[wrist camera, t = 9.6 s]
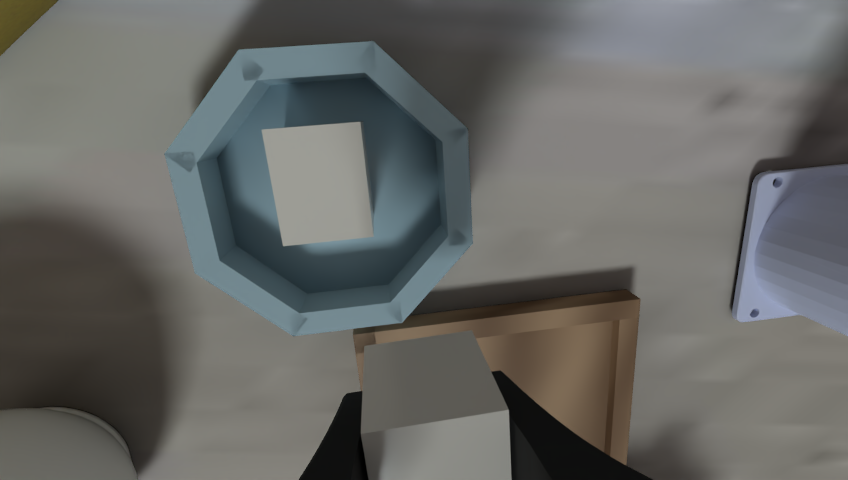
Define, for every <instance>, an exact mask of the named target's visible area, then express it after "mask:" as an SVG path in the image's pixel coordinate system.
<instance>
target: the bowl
mask: <svg viewBox="0 0 848 480" xmlns="http://www.w3.org/2000/svg"><path fill="white" fill-rule="evenodd" d="M360 121H363V123H364V132H365V141H366V150H367V158H368V167H369V176H370V185H371V194H372V202H373V211H374V237H368V238H358V239H349V240H339V241H329V242H320V243H310V244H300V245H291V246H283V243H282V238H281V232H280V227H279V222H278V216H277V211H276V205H275V200H274V195H273V189H272V184H271V178H270V173H269V168H268V162H267V157H266V151H265V146H264V141H263V135H262V129H273V128H284V127H297V126H310V125H322V124H335V123H348V122H360ZM164 155H165V158H166V162H167V165H168V169H169V173H170V177H171V181H172V185H173V189H174V193H175V197H176V201H177V204H178V208H179V212H180V216H181V220H182V224H183V228H184V232H185V236H186V239H187V243H188V247H189V251H190V255H191V259H192V263H193V267H194V271H195V274H197V275H199V276H200V277H202V278H203V279H205V280H206V281H208V282H210V283H211V284H213V285H214V286H216V287H217V288H219V289H220V290H222V291H224V292H225V293H227V294H228V295H230V296H231V297H233V298H235V299H236V300H238V301H239V302H241V303H242V304H244V305H245V306H247V307H249V308H250V309H252V310H253V311H255V312H256V313H258V314H260V315H261V316H263V317H264V318H266V319H267V320H269V321H270V322H272V323H274V324H275V325H277V326H278V327H280V328H281V329H283V330H285V331H286V332H288V333H289V334H291V335H292V336H299V335H307V334H315V333H323V332H331V331H339V330H347V329H355V328H364V327H372V326H380V325H388V324H396V323H403V321H404V320H405V319H406V318H407V317H408V316H409V315H410V313H411V312H412V311H413V310H414V309H415V308H416V307H417V306H418V304H419V303H420V302H421V301H422V300H423V299H424V298H425V297H426V295H427V294H428V293H429V292H430V291H431V290H432V289H433V288H434V286H435V285H436V284H437V283H438V282H439V281H440V280H441V278H442V277H443V276H444V275H445V274H446V273H447V272H448V271H449V269H450V268H451V267H452V266H453V265H454V264H455V263H456V262H457V260H458V259H459V258H460V257H461V256H462V255H463V254H464V253H465V251H466V250H467V249H468V248H469V247H470V246H471V245H472V244H473V238H472V215H471V192H470V169H469V146H468V128H467V127H466V126H464V125H463V124H462V123H461V122H460V121H459V120H458V119H457V118H456V117H455V116H454V115H453V114H452V113H450V112H449V111H448V110H447V109H446V108H445V107H444V106H443V105H442V104H441V103H440V102H439V101H437V100H436V99H435V98H434V97H433V96H432V95H431V94H430V93H429V92H428V91H427V90H426V89H425V88H423V87H422V86H421V85H420V84H419V83H418V82H417V81H416V80H415V79H414V78H413V77H412V76H410V75H409V74H408V73H407V72H406V71H405V70H404V69H403V68H402V67H401V66H400V65H399V64H398V63H396V62H395V61H394V60H393V59H392V58H391V57H390V56H389V55H388V54H387V53H386V52H385V51H383V50H382V49H381V48H380V47H379V46H378V45H377V44H376V43H375V42H374V41H367V42H351V43H336V44H320V45H304V46H288V47H273V48H257V49H241V50H240V49H239V50H238V51H237V53H236V54H235V55H234V57H233V58H232V60H231V61H230V63H229V64H228V65H227V67H226V68H225V70H224V71H223V72H222V74H221V75H220V77H219V78H218V79H217V81H216V82H215V84H214V85H213V86H212V88H211V89H210V91H209V92H208V93H207V95H206V96H205V98H204V99H203V100H202V102H201V103H200V105H199V106H198V107H197V109H196V110H195V112H194V113H193V115H192V116H191V117H190V119H189V120H188V122H187V123H186V124H185V126H184V127H183V129H182V130H181V131H180V133H179V134H178V136H177V137H176V138H175V140H174V141H173V143H172V144H171V145H170V147H169V148H168V150H167V151H166V152H165V153H164Z"/></svg>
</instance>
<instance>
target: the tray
mask: <svg viewBox="0 0 848 480" xmlns="http://www.w3.org/2000/svg"><path fill="white" fill-rule="evenodd" d="M639 311H640V298H638V297H637V296H635V295H634V294H632V293H631V292H629V291H628V290H626V289H625V290H617V291H609V292H600V293H592V294H584V295H576V296H568V297H559V298H551V299H543V300H535V301H527V302H518V303H510V304H502V305H494V306H486V307H477V308H469V309H461V310H453V311H445V312H436V313H428V314H420V315H412V316H408V317H407V318H406V319H405V320H404V321H403V323H396V324H388V325H380V326H372V327H364V328H355V329H354V331H353V338H354V345H355V352H356V359H357V366H358V373H359V380H360V387H361V391H363V368H364V346H367V345H374V344H381V343H388V342H395V341H402V340H409V339H415V338H422V337H429V336H436V335H443V334H450V333H457V332H464V331H471V330H472V332H473V334H474V336H475V338H476V340H477V342H478V345H479V347H480V349H481V351H482V353H483V355H484V357H485V360H486V362H487V364H488V366H489V368H490V370H491V372H492V371H499V370H501V371H502V372H503V373H504V374H505V375H506V376H508V377H509V378H510V379H511V380H512V381H513V382H514V383H515V384H516V385H517V386H518V387H519V388H520V389H522V390H523V391H524V392H525V393H526V394H527V395H528V396H529V397H530V398H532V399H533V400H534V401H535V402H536V403H537V404H539V405H540V406H541V407H542V408H543V409H545V410H546V411H547V412H548V413H549V414H551V415H552V416H553V417H554V418H556V419H557V420H558V421H559V422H561V423H562V424H563V425H565V426H566V427H567V428H569V429H570V430H571V431H573V432H574V433H575V434H577V435H578V436H579V437H581V438H582V439H584V440H585V441H587V442H588V443H590V444H591V445H593V446H595V447H596V448H598V449H599V450H601V451H603V452H604V453H606V454H607V455H609V456H610V457H612V458H614V459H616V460H617V461H619V462H621V463H622V464H624V465H626V463H627V452H628V440H629V428H630V416H631V405H632V393H633V381H634V369H635V358H636V346H637V334H638V322H639Z"/></svg>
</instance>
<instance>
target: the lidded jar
mask: <svg viewBox="0 0 848 480" xmlns="http://www.w3.org/2000/svg"><path fill="white" fill-rule="evenodd" d="M0 480H138V477H137V473H136V470H135V468H134V465H133V463H132V461H131V455H130V451H129V448H128V446H127V444H126V442H125V440H124V439H123V438H122V436H121V435H120V434H119V433H118V432H117V431H116V429H115V428H113V427H112V426H111V425H110V424H108V423H107V422H105V421H104V420H102V419H100V418H99V417H97V416H95V415H92V414H90V413H88V412H84V411H81V410H78V409H73V408H67V407H43V408H16V409H4V410H0Z"/></svg>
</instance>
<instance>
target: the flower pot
mask: <svg viewBox="0 0 848 480" xmlns="http://www.w3.org/2000/svg"><path fill="white" fill-rule="evenodd" d="M57 1H58V0H0V56H1V55H2V54H3V53H4V52H5V51H6V50H7V49H8V48H9V47H10V46H11V45H12V44H13V43H14V42H15V41H16V40H17V39H18V38H19V37H20V36H21V35H22V34H23V33H24V32H25V31H26V30H27V29H29V28H30V27H31V26H32V25H33V24H34V23H35V22H36V21H37V20H38V19H39V18H40V17H41V16H42V15H43V14H44V13H46V12H47V11H48V10H49V9H50V8H51V7H52V6H53V5H54V4H55V3H56V2H57Z"/></svg>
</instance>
